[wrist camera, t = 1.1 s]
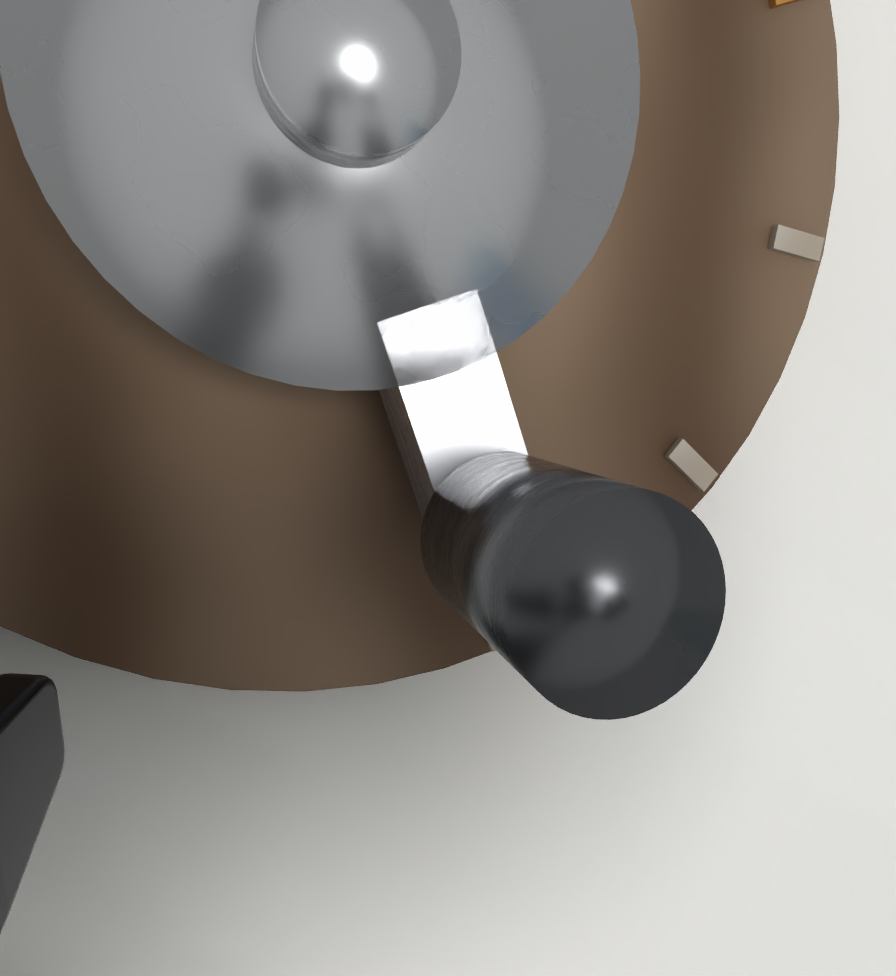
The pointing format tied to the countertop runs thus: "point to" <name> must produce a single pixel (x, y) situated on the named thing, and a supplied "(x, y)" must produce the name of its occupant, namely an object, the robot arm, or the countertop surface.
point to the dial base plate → (360, 413)
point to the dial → (388, 267)
